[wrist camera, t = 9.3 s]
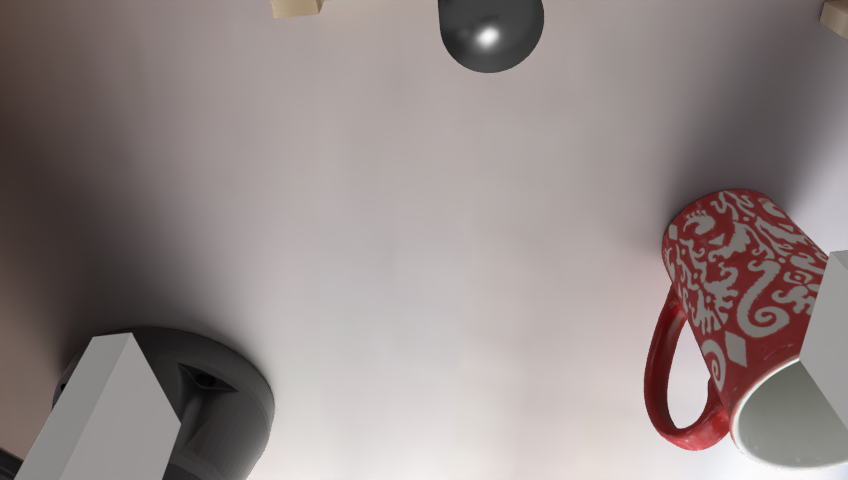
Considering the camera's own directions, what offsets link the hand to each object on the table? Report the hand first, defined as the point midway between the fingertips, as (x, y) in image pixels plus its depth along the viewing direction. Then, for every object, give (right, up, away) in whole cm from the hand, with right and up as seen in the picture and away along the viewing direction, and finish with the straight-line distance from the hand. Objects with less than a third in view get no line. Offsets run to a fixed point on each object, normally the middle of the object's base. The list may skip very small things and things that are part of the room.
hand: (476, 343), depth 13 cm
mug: (+16, +1, +28) cm, 32 cm away
